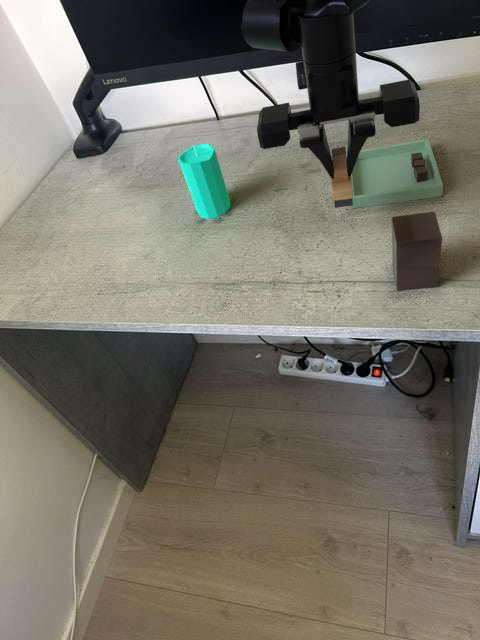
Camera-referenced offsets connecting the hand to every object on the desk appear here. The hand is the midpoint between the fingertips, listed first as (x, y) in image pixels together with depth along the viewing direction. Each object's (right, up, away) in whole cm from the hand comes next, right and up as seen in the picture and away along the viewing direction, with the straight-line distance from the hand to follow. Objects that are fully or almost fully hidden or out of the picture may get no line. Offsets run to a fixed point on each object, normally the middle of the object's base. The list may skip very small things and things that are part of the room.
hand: (341, 175), depth 65 cm
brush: (+1, -2, +2) cm, 3 cm away
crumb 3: (+15, +3, +10) cm, 18 cm away
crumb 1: (+15, +6, +13) cm, 21 cm away
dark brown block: (+9, -13, -2) cm, 16 cm away
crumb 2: (+15, +4, +12) cm, 19 cm away
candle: (-18, 0, +19) cm, 26 cm away
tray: (+11, +3, +13) cm, 17 cm away
